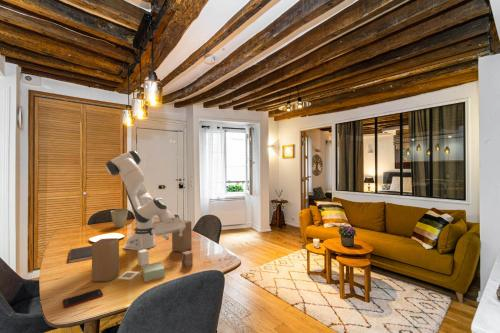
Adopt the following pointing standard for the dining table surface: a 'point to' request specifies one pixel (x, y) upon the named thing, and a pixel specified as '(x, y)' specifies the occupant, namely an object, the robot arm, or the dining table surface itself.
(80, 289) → the dining table surface
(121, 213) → the plant pot
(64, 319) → the dining table surface
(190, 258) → the walnut block
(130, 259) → the dining table surface
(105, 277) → the wooden block
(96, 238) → the plate
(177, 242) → the block
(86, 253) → the hardcover book
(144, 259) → the off-white block
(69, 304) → the cell phone
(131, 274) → the card
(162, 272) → the base block
